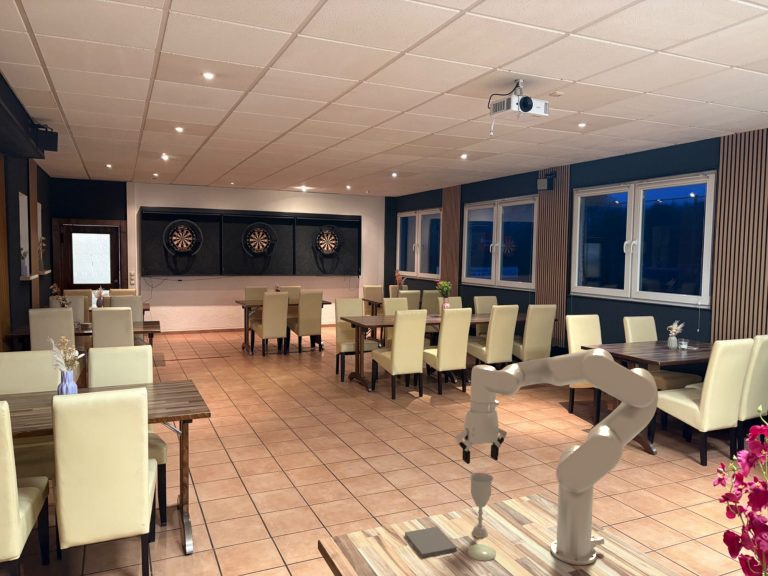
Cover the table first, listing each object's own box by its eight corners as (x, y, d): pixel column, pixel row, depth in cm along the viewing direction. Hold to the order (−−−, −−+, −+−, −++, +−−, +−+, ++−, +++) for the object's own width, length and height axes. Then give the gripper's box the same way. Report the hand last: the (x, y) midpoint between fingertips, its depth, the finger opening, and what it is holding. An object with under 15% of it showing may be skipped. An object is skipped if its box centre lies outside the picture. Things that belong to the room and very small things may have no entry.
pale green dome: (486, 544, 170) (486, 542, 170) (501, 558, 163) (501, 555, 163) (463, 549, 168) (463, 547, 168) (476, 563, 160) (477, 561, 160)
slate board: (437, 529, 178) (437, 526, 178) (456, 550, 166) (456, 547, 166) (404, 535, 175) (404, 532, 175) (422, 557, 162) (422, 554, 162)
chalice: (490, 528, 179) (492, 473, 178) (492, 539, 173) (494, 482, 171) (467, 527, 180) (468, 472, 179) (468, 538, 173) (469, 481, 172)
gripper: (500, 400, 180) (498, 453, 181) (451, 404, 174) (449, 459, 175) (513, 407, 173) (511, 462, 174) (463, 411, 167) (461, 468, 168)
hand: (480, 460), depth 175 cm, fingers open, 9 cm apart
